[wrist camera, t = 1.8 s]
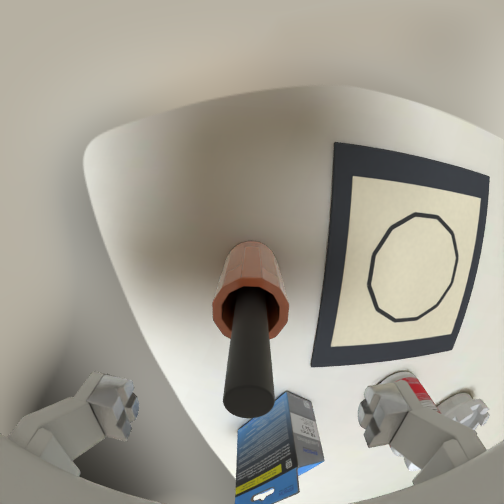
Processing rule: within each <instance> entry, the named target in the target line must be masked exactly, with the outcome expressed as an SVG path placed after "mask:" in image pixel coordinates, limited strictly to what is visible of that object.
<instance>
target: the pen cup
mask: <svg viewBox="0 0 504 504" xmlns="http://www.w3.org/2000/svg"><path fill="white" fill-rule="evenodd" d="M243 286H251V287H261V288H262V289H264V290H265V299H266V309H267V320H268V330H269V340H270V339H272V338H274V337H276V336H277V335H278V334H279V332H280V331H281V330H282V329H283V327H284V326H285V325H286V323H287V321H288V312H289V303H288V299H287V295H286V291H285V288H284V284H283V280H282V277H281V273H280V269H279V266H278V262H277V260H276V258H275V255H274V253H273V252H272V250H271V249H270V248H269V247H268V246H266V245H265V244H263V243H260V242H257V241H246V242H242V243H240V244H238V245H237V246H235V247H234V248H233V249H232V250H231V251H230V253H229V255H228V257H227V259H226V261H225V264H224V267H223V270H222V274H221V277H220V280H219V283H218V286H217V290H216V293H215V296H214V299H213V303H212V307H213V321H214V322H215V324H216V325H217V327H218V328H219V330H220V331H221V332H222V334H223V335H224V336H226V337H228V338H230V339H231V333H232V325H233V318H234V310H235V303H236V295H237V289H239V288H241V287H243Z"/></svg>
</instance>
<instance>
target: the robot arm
mask: <svg viewBox="0 0 504 504" xmlns="http://www.w3.org/2000/svg"><path fill="white" fill-rule="evenodd" d="M133 390H134V385H133V382H132V381H131V380H129V379H125V378H121V377H116V376H112V375H108V374H103V373H99V372H96V371H94V372H92V373H91V374H90V375H89V377H88V378H87V380H86V381H85V382H84V384H83V385H82V387H81V388H80V389H79V391H78V392H77V394H76V395H75V396H74V398H72V397H69V398H66V399H64V400H62V401H60V402H57V403H55V404H53V405H50V406H48V407H45V408H43V409H41V410H38V411H36V412H33V413H31V414H29V415H26V416H23V418H22V419H21V420H20V421H19V423H18V424H17V425H16V427H15V428H14V429H13V431H12V432H11V433H10V435H9V436H8V438H7V437H5V436H4V435H2V434H1V433H0V504H165V503H161V502H156V501H152V500H147V499H143V498H139V497H135V496H132V495H129V494H125V493H122V492H118V491H116V490H113V489H110V488H107V487H104V486H101V485H98V484H96V483H93V482H90V481H88V480H85V479H83V478H81V477H79V475H80V470H79V469H78V468H77V466H76V465H75V464H74V463H73V461H72V460H74V459H75V458H77V457H78V456H80V455H81V454H82V453H84V452H85V451H87V450H88V449H90V448H91V447H93V446H94V445H95V444H97V443H98V442H100V441H101V440H103V439H104V438H105V436H107V437H111V438H114V439H118V440H122V441H127V439H128V437H129V434H130V432H131V430H132V427H131V425H130V423H131V422H133V421H135V420H136V418H137V415H138V410H139V402H138V398H137V396H136V395H135V394H134V393H133ZM364 396H365V399H364V400H363V401H362V402H361V403H360V405H359V408H358V421H359V424H360V426H361V427H363V428H364V429H366V431H365V433H364V437H365V440H366V442H367V445H368V448H371V447H376V446H381V445H386V444H389V445H390V446H391V447H393V448H394V449H395V450H396V451H398V452H399V453H400V454H401V455H403V456H404V457H405V458H406V459H408V460H409V461H410V462H412V463H413V464H414V465H416V466H417V467H418V468H420V469H421V471H420V472H419V473H418V474H417V475H416V477H415V478H414V479H413V481H412V482H413V484H414V485H413V486H411V487H408V488H405V489H402V490H399V491H396V492H393V493H389V494H386V495H382V496H379V497H375V498H371V499H367V500H363V501H359V502H354V503H350V504H504V440H503V441H501V442H500V443H498V444H496V445H495V446H493V447H492V448H490V449H488V450H486V448H485V447H484V445H483V444H482V442H481V441H480V439H479V438H478V436H477V435H476V433H475V432H474V430H473V429H471V428H469V427H467V426H465V425H463V424H461V423H459V422H457V421H455V420H453V419H450V418H448V417H446V416H444V415H442V414H440V413H438V412H436V411H434V410H432V409H430V408H428V407H423V406H422V404H421V403H420V401H419V399H418V398H417V396H416V395H415V393H414V392H413V390H412V389H411V387H410V386H409V384H408V383H407V382H406V381H405V380H402V381H397V382H392V383H386V384H380V385H373V386H368V387H367V388H366V389H365V392H364Z"/></svg>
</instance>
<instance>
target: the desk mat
mask: <svg viewBox="0 0 504 504" xmlns="http://www.w3.org/2000/svg"><path fill="white" fill-rule="evenodd" d="M489 178H490V177H489V176H486V175H483V174H480V173H477V172H474V171H471V170H468V169H464V168H461V167H457V166H454V165H450V164H447V163H443V162H439V161H435V160H431V159H427V158H423V157H418V156H414V155H409V154H405V153H400V152H395V151H390V150H384V149H379V148H373V147H367V146H360V145H354V144H346V143H339V142H335V143H334V162H333V184H332V200H331V214H330V226H329V238H328V248H327V257H326V266H325V275H324V283H323V291H322V298H321V305H320V312H319V319H318V325H317V331H316V337H315V343H314V349H313V355H312V360H311V367H327V366H343V365H355V364H365V363H375V362H383V361H391V360H398V359H405V358H411V357H418V356H423V355H429V354H434V353H439V352H444V351H449V350H452V349H453V346H454V344H455V341H456V338H457V336H458V333H459V330H460V327H461V325H462V322H463V319H464V316H465V313H466V309H467V306H468V303H469V300H470V296H471V292H472V289H473V285H474V281H475V277H476V273H477V269H478V264H479V259H480V254H481V249H482V243H483V237H484V231H485V224H486V216H487V207H488V195H489Z"/></svg>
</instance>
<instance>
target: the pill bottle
mask: <svg viewBox="0 0 504 504" xmlns="http://www.w3.org/2000/svg"><path fill="white" fill-rule="evenodd" d="M402 380H405V381H406V382H407V383H408V384H409V386H410V387H411V389H412V390H413V392H414V393H415V395H416V396H417V398H418V399H419V401H420V403H421V404H422V406H423V407H428V408H430V409H432V410H434V411H436V412H438V413H440V414H441V412H440V411H439V410H438V408H437V407H436V405H435V404H434V402H433V401H432V399H431V398H430V396H429V395H428V393H427V392H426V390H425V389H424V388H423V386H422V385H421V383H420V382H419V381H418V379H417V378H416V377H415V375H414V374H412V373H410V372H399V373H396V374H393V375H391V376H389V377H388V378H386V379H385V380H384V381H382V382H381V383H380V384H386V383H392V382H397V381H402ZM380 384H379V385H380ZM390 448H391V450H392V452H393V453H394V454H395V455H397V456H400V457H404V456H403V455H401V454H400V453H399V452H398V451H396V450H395V449H394V448H393V447H391V446H390ZM404 460H405V464H406V466H407V468H408V470H410V471H416V470H420V468H418V467H417V466H416V465H414V464H413V463H412V462H410V461H409V460H408V459H406V458H405V457H404Z"/></svg>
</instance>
